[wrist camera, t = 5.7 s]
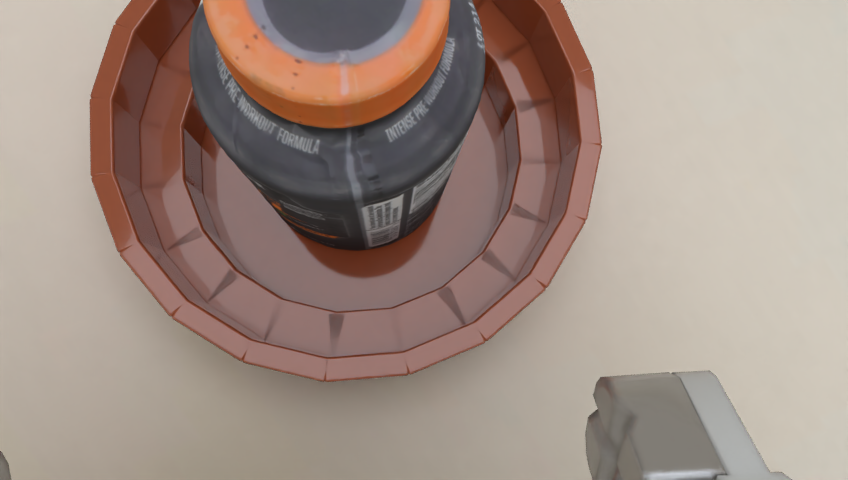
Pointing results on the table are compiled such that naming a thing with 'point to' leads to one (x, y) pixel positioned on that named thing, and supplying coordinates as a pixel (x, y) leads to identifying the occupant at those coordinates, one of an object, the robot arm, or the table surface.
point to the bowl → (336, 268)
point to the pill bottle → (341, 106)
